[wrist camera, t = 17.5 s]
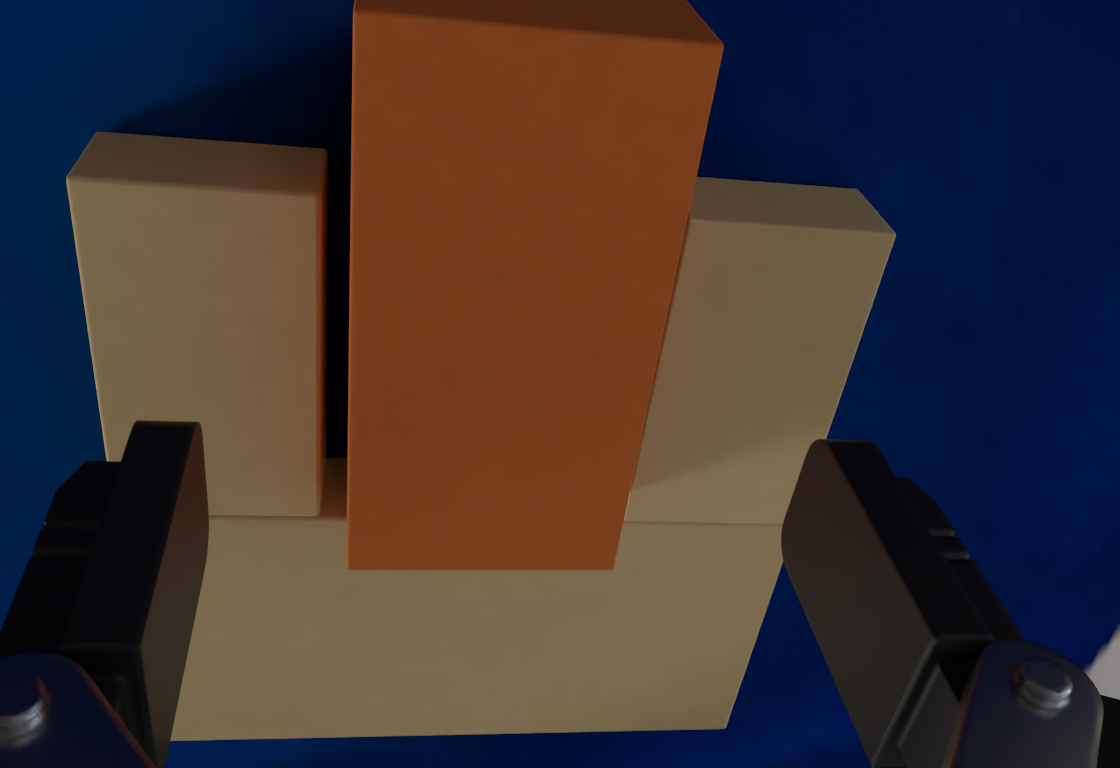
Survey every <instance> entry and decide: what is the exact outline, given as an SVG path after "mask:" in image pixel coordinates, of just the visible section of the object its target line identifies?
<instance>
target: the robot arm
mask: <svg viewBox="0 0 1120 768" xmlns="http://www.w3.org/2000/svg"><path fill="white" fill-rule="evenodd" d="M954 533H955V530H954V529H953V527H952V526H951V524H950V523H949V521H948V520H947V518H946V516H945V515H944V513H943V512H942V510H941V509H940V507H939V506H938V504H937V503H936V502H935V501H934V500H933V499H932V498H930V497H929V496H928V495H927V494H926V493H925V492H923V491H922V490H921V489H920V488H919V487H917V486H916V485H915V484H914V483H913V482H912V481H910V480H909V479H908V478H906V477H896V476H895V475H894V473H893V472H892V470H891V468H890V467H889V465H888V463H887V462H886V460H885V458H884V457H883V455H882V454H881V452H880V450H879V449H878V447H877V446H876V445H875V444H874V443H873V442H871V441H869V440H836V439H817V440H815V441H814V442H813V443H812V444H811V445H810V447H809V449H808V451H807V454H806V457H805V460H804V463H803V466H802V468H801V471H800V474H799V477H798V480H797V483H796V486H795V489H794V492H793V495H792V498H791V501H790V504H789V506H788V509H787V512H786V515H785V518H784V522H783V526H782V532H781V550H782V557H783V561H784V565H785V568H786V570H787V573H788V575H789V577H790V580H791V582H792V584H793V586H794V589H795V591H796V593H797V596H798V598H799V600H800V603H801V605H802V607H803V610H804V612H805V614H806V617H807V619H808V621H809V623H810V626H811V628H812V630H813V633H814V635H815V637H816V640H817V642H818V644H819V647H820V649H821V651H822V654H823V656H824V658H825V661H826V663H827V665H828V667H829V670H830V672H831V674H832V677H833V679H834V681H835V684H836V686H837V688H838V691H839V693H840V695H841V698H842V700H843V702H844V705H845V707H846V709H847V711H848V714H849V716H850V718H851V721H852V723H853V725H854V728H855V730H856V732H857V735H858V737H859V739H860V742H861V744H862V746H863V749H864V751H865V753H866V755H867V758H868V760H869V762H870V765H871V767H898V766H907V768H1120V700H1118V699H1114V698H1110V697H1106V696H1103V695H1100V694H1099V692H1098V690H1097V688H1096V687H1095V685H1094V684H1093V682H1092V681H1091V679H1090V678H1089V677H1088V676H1087V675H1086V673H1084V672H1083V671H1082V670H1081V669H1080V668H1079V667H1078V666H1077V665H1076V664H1075V663H1073V662H1072V661H1071V660H1069V659H1068V658H1067V657H1065V656H1063V655H1062V654H1060V653H1059V652H1057V651H1055V650H1053V649H1051V648H1049V647H1046V646H1044V645H1041V644H1039V643H1035V642H1032V641H1028V640H1025V639H1024V638H1023V636H1022V635H1021V633H1020V632H1019V630H1018V629H1017V627H1016V625H1015V624H1014V622H1013V621H1012V619H1011V618H1010V616H1009V615H1008V613H1007V611H1006V610H1005V608H1004V607H1003V605H1002V604H1001V602H1000V601H999V599H998V597H997V596H996V594H995V593H994V591H993V590H992V588H991V586H990V585H989V583H988V582H987V580H986V579H985V577H984V576H983V574H982V572H981V571H980V569H979V568H978V566H977V565H976V563H975V562H974V560H970V559H969V555H970V554H969V552H968V551H967V549H966V548H965V546H964V544H963V543H962V541H961V540H960V538H959V537H955V534H954ZM208 539H209V511H208V498H207V485H206V472H205V459H204V446H203V434H202V428H201V424H200V422H188V421H148V420H137V421H135V423H134V424H133V427H132V429H131V432H130V435H129V438H128V441H127V444H126V447H125V450H124V453H123V456H122V459H121V462H119V461H86V462H85V463H84V464H83V465H82V466H81V467H80V468H79V469H78V470H77V471H76V472H75V473H74V474H73V475H72V476H71V477H70V478H68V479H67V480H66V481H65V482H64V483H63V484H62V485H61V486H60V487H59V488H58V489H57V491H56V493H55V496H54V498H53V501H52V503H51V506H50V508H49V511H48V513H47V516H46V518H45V521H44V529H41V531H40V533H39V536H38V538H37V541H36V543H35V546H34V549H33V556H30V559H29V561H28V564H27V566H26V569H25V571H24V574H23V576H22V579H21V581H20V584H19V586H18V589H17V591H16V594H15V596H14V599H13V601H12V604H11V606H10V609H9V611H8V614H7V616H6V619H5V622H4V624H3V627H2V629H1V632H0V768H165V764H166V760H167V755H168V750H169V745H170V740H171V735H172V730H173V725H174V720H175V715H176V710H177V705H178V700H179V695H180V690H181V685H182V680H183V675H184V670H185V665H186V660H187V655H188V650H189V645H190V640H191V635H192V630H193V626H194V621H195V616H196V611H197V606H198V601H199V596H200V591H201V586H202V581H203V576H204V571H205V566H206V560H207V552H208Z"/></svg>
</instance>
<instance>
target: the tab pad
mask: <svg viewBox="0 0 1120 768" xmlns="http://www.w3.org/2000/svg"><path fill="white" fill-rule="evenodd" d="M723 48H724V46H723V43H722V42H721V41H720V40H719V38H718V37H717V36H716V35H715V34H714V33H713V31H712V30H711V29H710V28H709V27H708V25H707V24H706V23H705V22H704V21H703V19H702V18H701V17H700V16H699V15H698V14H697V12H696V11H695V10H694V9H693V8H692V6H691V5H690V4H689V3H688V2H687V0H355V2H354V9H353V50H352V133H351V215H350V298H349V381H348V464H347V547H346V567H347V569H348V570H613V568H614V564H615V559H616V554H617V550H618V545H619V540H620V535H621V531H622V526H623V521H624V517H625V512H626V507H627V502H628V498H629V493H630V488H631V483H632V479H633V474H634V469H635V465H636V460H637V455H638V450H639V446H640V441H641V436H642V431H643V427H644V422H645V417H646V412H647V408H648V403H649V398H650V394H651V389H652V384H653V379H654V375H655V370H656V365H657V360H658V356H659V351H660V346H661V342H662V337H663V332H664V327H665V323H666V318H667V313H668V308H669V304H670V299H671V294H672V289H673V285H674V280H675V275H676V271H677V266H678V261H679V256H680V252H681V247H682V242H683V237H684V233H685V228H686V223H687V219H688V214H689V209H690V204H691V200H692V195H693V190H694V185H695V181H696V176H697V171H698V166H699V162H700V157H701V152H702V148H703V143H704V138H705V133H706V129H707V124H708V119H709V114H710V110H711V105H712V100H713V96H714V91H715V86H716V81H717V77H718V72H719V67H720V62H721V58H722V53H723Z"/></svg>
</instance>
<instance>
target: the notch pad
mask: <svg viewBox="0 0 1120 768" xmlns="http://www.w3.org/2000/svg"><path fill="white" fill-rule="evenodd" d="M66 182H67V189H68V196H69V203H70V210H71V217H72V224H73V231H74V238H75V245H76V252H77V258H78V265H79V272H80V279H81V286H82V293H83V300H84V307H85V314H86V321H87V328H88V334H89V341H90V348H91V355H92V362H93V369H94V376H95V383H96V390H97V397H98V403H99V410H100V417H101V424H102V431H103V438H104V445H105V452H106V459H107V461H119V462H121V459H122V456H123V453H124V450H125V447H126V444H127V441H128V438H129V435H130V432H131V429H132V427H133V424H134V423H135V421H137V420H148V421H188V422H200V424H201V428H202V434H203V446H204V459H205V472H206V485H207V498H208V511H209V539H208V552H207V560H206V566H205V571H204V576H203V581H202V586H201V591H200V596H199V601H198V606H197V611H196V616H195V621H194V626H193V630H192V635H191V640H190V645H189V650H188V655H187V660H186V665H185V670H184V675H183V680H182V685H181V690H180V695H179V700H178V705H177V710H176V715H175V720H174V725H173V730H172V735H171V740H170V741H188V740H235V739H281V738H328V737H374V736H421V735H468V734H514V733H561V732H607V731H654V730H701V729H724V728H726V726H727V723H728V720H729V717H730V714H731V711H732V708H733V705H734V702H735V699H736V697H737V694H738V691H739V688H740V685H741V682H742V679H743V676H744V673H745V670H746V668H747V665H748V662H749V659H750V656H751V653H752V650H753V647H754V644H755V641H756V639H757V636H758V633H759V630H760V627H761V624H762V621H763V618H764V615H765V612H766V609H767V607H768V604H769V601H770V598H771V595H772V592H773V589H774V586H775V583H776V580H777V578H778V575H779V572H780V569H781V566H782V563H783V557H782V550H781V532H782V526H783V522H784V518H785V515H786V512H787V509H788V506H789V504H790V501H791V498H792V495H793V492H794V489H795V486H796V483H797V480H798V477H799V474H800V471H801V468H802V466H803V463H804V460H805V457H806V454H807V451H808V449H809V447H810V445H811V444H812V443H813V442H814V441H815V440H817V439H826V437H827V434H828V431H829V428H830V426H831V423H832V420H833V417H834V414H835V411H836V408H837V405H838V402H839V399H840V397H841V394H842V391H843V388H844V385H845V382H846V379H847V376H848V373H849V370H850V368H851V365H852V362H853V359H854V356H855V353H856V350H857V347H858V344H859V342H860V339H861V336H862V333H863V330H864V327H865V324H866V321H867V318H868V315H869V313H870V310H871V307H872V304H873V301H874V298H875V295H876V292H877V289H878V286H879V284H880V281H881V278H882V275H883V272H884V269H885V266H886V263H887V260H888V257H889V255H890V252H891V249H892V246H893V243H894V240H895V237H896V233H895V232H894V231H893V230H892V229H891V227H890V226H889V225H888V224H887V223H886V222H885V220H884V219H883V218H882V217H881V216H880V215H879V213H878V212H877V211H876V210H875V209H874V208H873V207H872V205H871V204H870V203H869V202H868V201H867V200H866V198H865V197H864V196H863V195H862V194H861V193H860V191H859V190H857V189H850V188H837V187H824V186H811V185H798V184H785V183H772V182H759V181H746V180H733V179H719V178H706V177H696V181H695V185H694V190H693V195H692V200H691V204H690V209H689V214H688V219H687V223H686V228H685V233H684V237H683V242H682V247H681V252H680V256H679V261H678V266H677V271H676V275H675V280H674V285H673V289H672V294H671V299H670V304H669V308H668V313H667V318H666V323H665V327H664V332H663V337H662V342H661V346H660V351H659V356H658V360H657V365H656V370H655V375H654V379H653V384H652V389H651V394H650V398H649V403H648V408H647V412H646V417H645V422H644V427H643V431H642V436H641V441H640V446H639V450H638V455H637V460H636V465H635V469H634V474H633V479H632V483H631V488H630V493H629V498H628V502H627V507H626V512H625V517H624V521H623V526H622V531H621V535H620V540H619V545H618V550H617V554H616V559H615V564H614V568H613V570H348V569H347V567H346V547H347V464H348V458H328V457H326V392H327V229H328V153H327V150H325V149H321V148H307V147H294V146H281V145H268V144H255V143H242V142H229V141H216V140H202V139H189V138H176V137H163V136H150V135H137V134H124V133H111V132H97V133H95V135H94V136H93V138H92V139H91V141H90V142H89V144H88V145H87V147H86V148H85V150H84V151H83V153H82V154H81V156H80V157H79V159H78V160H77V162H76V164H75V165H74V167H73V168H72V170H71V171H70V173H69V174H68V176H67V178H66Z"/></svg>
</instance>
